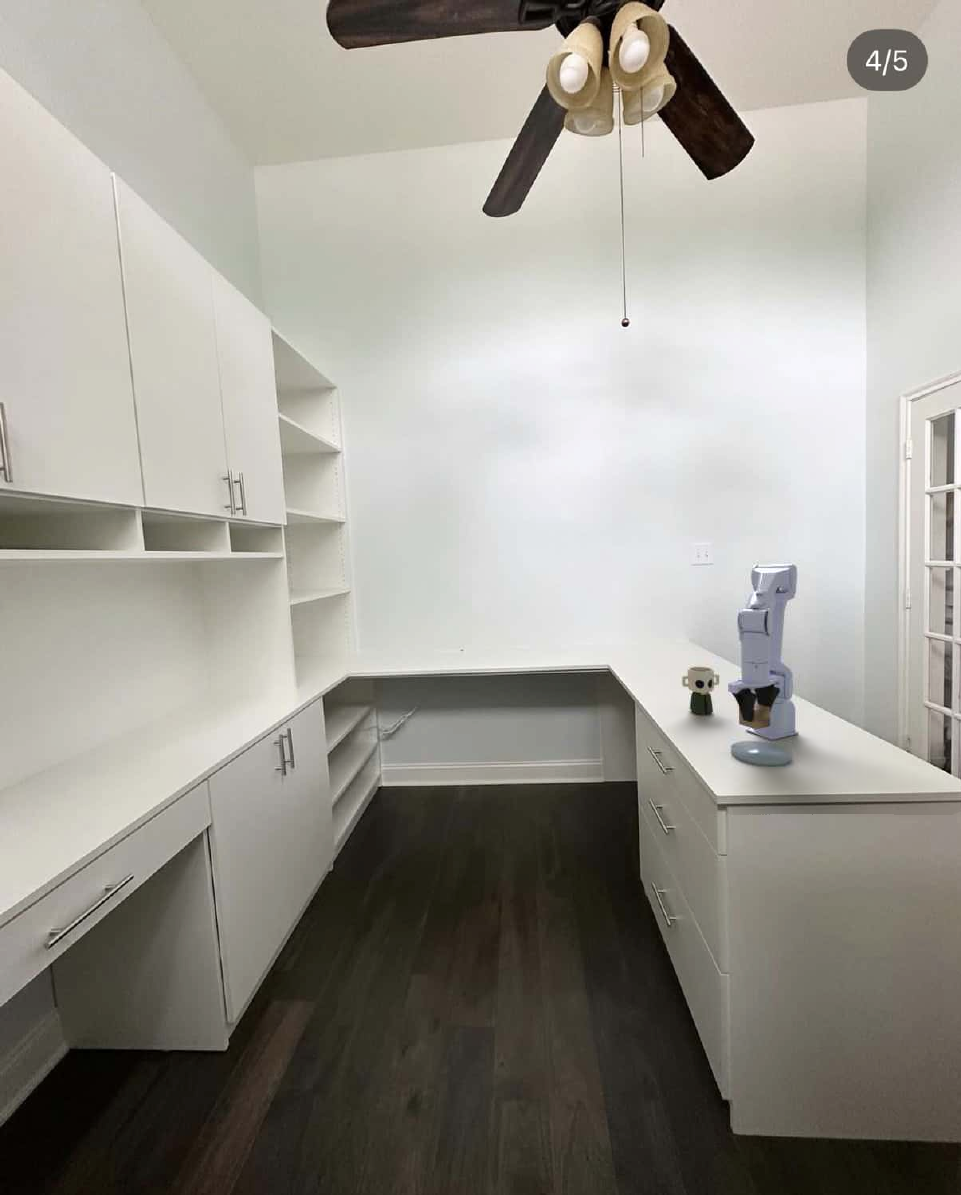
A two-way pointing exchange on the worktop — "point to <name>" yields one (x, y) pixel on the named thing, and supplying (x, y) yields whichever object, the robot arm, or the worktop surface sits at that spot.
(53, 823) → the worktop surface
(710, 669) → the character mug
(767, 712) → the walnut block
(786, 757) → the slate dish
